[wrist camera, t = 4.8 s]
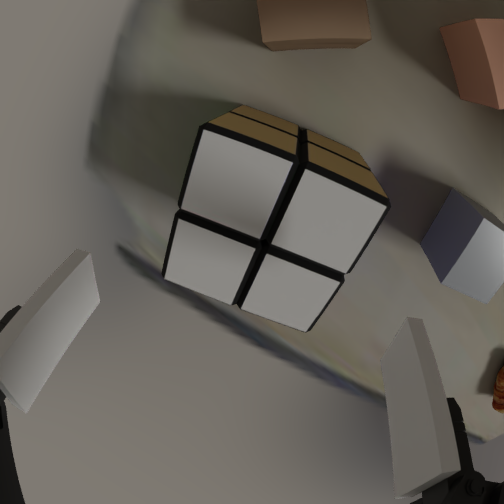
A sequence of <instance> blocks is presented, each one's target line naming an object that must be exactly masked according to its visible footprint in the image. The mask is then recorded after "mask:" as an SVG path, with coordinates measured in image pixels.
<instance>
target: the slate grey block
mask: <svg viewBox="0 0 504 504" xmlns="http://www.w3.org/2000/svg"><path fill="white" fill-rule="evenodd" d="M420 245H421V247H422V248H423V250H424V252H425V254H426V256H427V258H428V259H429V261H430V263H431V265H432V267H433V269H434V271H435V273H436V275H437V277H438V279H439V281H440V283H441V284H443V285H445V286H447V287H450V288H452V289H454V290H456V291H459V292H461V293H463V294H465V295H467V296H469V297H472V298H474V299H476V300H478V301H480V302H482V303H485V304H487V303H488V302H489V301H490V299H491V298H492V297H493V296H494V294H495V293H496V292H497V290H498V289H499V288H500V286H501V285H502V284H503V282H504V224H503V223H502V222H501V221H500V220H499V219H498V218H497V217H496V216H495V215H494V214H492V213H491V212H489V211H488V210H486V209H485V208H483V207H482V206H481V205H479V204H478V203H476V202H475V201H473V200H472V199H470V198H468V197H467V196H465V195H464V194H462V193H461V192H459V191H457V190H456V189H454V188H452V189H451V191H450V193H449V195H448V197H447V199H446V201H445V202H444V204H443V206H442V208H441V209H440V211H439V213H438V215H437V216H436V218H435V220H434V222H433V223H432V225H431V227H430V228H429V230H428V232H427V233H426V235H425V236H424V238H423V240H422V241H421V243H420Z"/></svg>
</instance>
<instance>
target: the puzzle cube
mask: <svg viewBox="0 0 504 504" xmlns="http://www.w3.org/2000/svg"><path fill="white" fill-rule="evenodd" d="M178 206H179V208H180V209H179V210H178V211H177V212H176V214H175V216H174V221H173V225H172V229H171V233H170V237H169V242H168V246H167V250H166V255H165V259H164V264H163V269H162V276H163V277H164V279H166V280H168V281H170V282H173V283H175V284H178V285H180V286H183V287H185V288H188V289H190V290H193V291H195V292H198V293H200V294H203V295H205V296H208V297H210V298H213V299H215V300H218V301H221V302H223V303H226V304H228V305H234V304H237V305H238V307H239V308H240V309H241V310H244V311H246V312H249V313H252V314H255V315H257V316H260V317H263V318H266V319H268V320H271V321H274V322H277V323H279V324H282V325H285V326H288V327H291V328H294V329H297V330H300V331H302V332H308V331H310V330H311V329H312V328H313V326H314V325H315V323H316V322H317V321H318V319H319V318H320V316H321V315H322V314H323V312H324V311H325V309H326V308H327V306H328V305H329V304H330V302H331V301H332V299H333V298H334V296H335V295H336V293H337V292H338V290H339V289H340V287H341V286H342V284H343V283H344V281H345V280H344V274H348V273H350V272H351V271H352V269H353V268H354V266H355V265H356V263H357V261H358V260H359V258H360V257H361V255H362V254H363V252H364V250H365V249H366V247H367V246H368V244H369V242H370V241H371V239H372V237H373V236H374V234H375V233H376V231H377V229H378V228H379V226H380V224H381V223H382V221H383V219H384V217H385V216H386V214H387V212H388V211H389V209H390V207H391V205H390V202H389V198H388V197H387V195H386V193H385V192H384V190H383V189H382V187H381V185H380V184H379V182H378V181H377V179H376V178H375V176H374V175H373V173H372V172H371V170H370V168H369V167H368V165H367V164H366V162H365V161H364V159H363V158H362V156H361V155H360V154H359V153H358V152H356V151H354V150H352V149H350V148H348V147H346V146H344V145H342V144H339V143H337V142H335V141H333V140H331V139H328V138H326V137H324V136H322V135H319V134H317V133H315V132H312V131H310V130H308V129H306V130H303V131H301V130H300V128H299V126H298V125H296V124H293V123H291V122H288V121H286V120H283V119H281V118H278V117H275V116H273V115H270V114H267V113H265V112H262V111H259V110H256V109H254V108H251V107H248V106H245V105H242V106H240V107H238V108H236V109H234V110H232V111H229V112H227V113H225V114H224V115H222V116H219V117H217V118H215V119H213V120H211V121H209V122H207V123H205V124H203V125H201V126H199V130H198V133H197V136H196V139H195V143H194V146H193V149H192V153H191V156H190V160H189V163H188V167H187V170H186V174H185V178H184V181H183V185H182V189H181V192H180V196H179V200H178Z"/></svg>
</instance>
